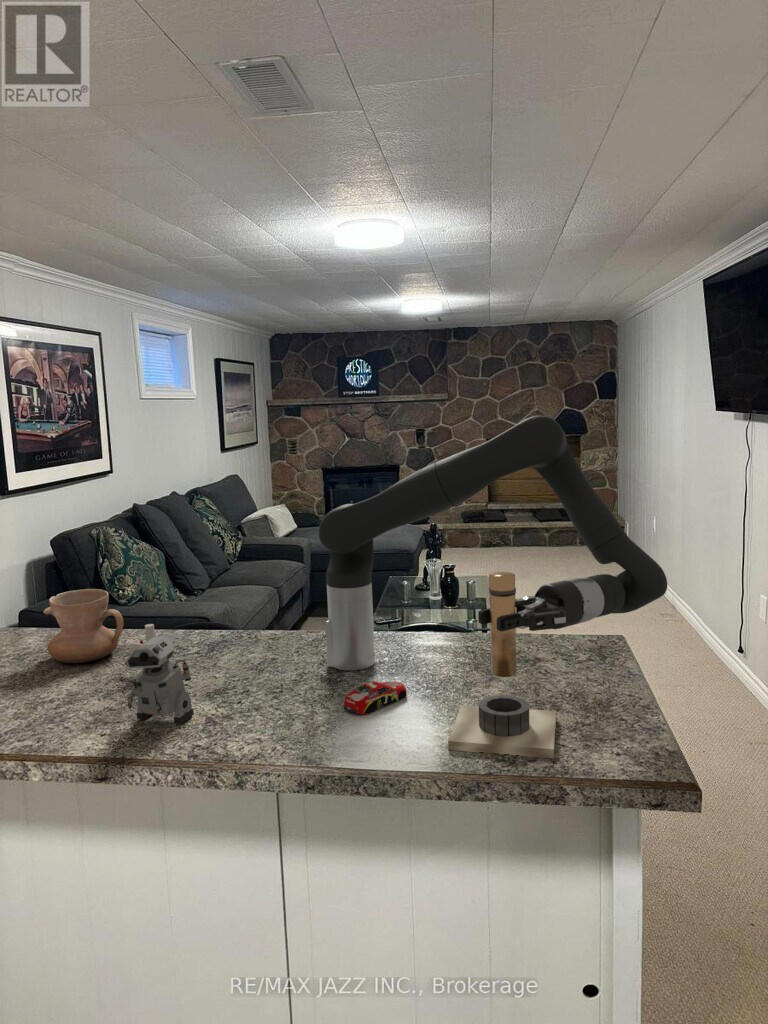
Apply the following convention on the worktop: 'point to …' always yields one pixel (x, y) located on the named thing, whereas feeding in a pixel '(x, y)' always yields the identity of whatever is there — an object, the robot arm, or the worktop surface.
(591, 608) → the robot arm
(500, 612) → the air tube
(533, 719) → the collar plate
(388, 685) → the race car
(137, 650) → the figurine
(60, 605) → the ceramic jug
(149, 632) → the pipe connector
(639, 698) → the worktop surface
